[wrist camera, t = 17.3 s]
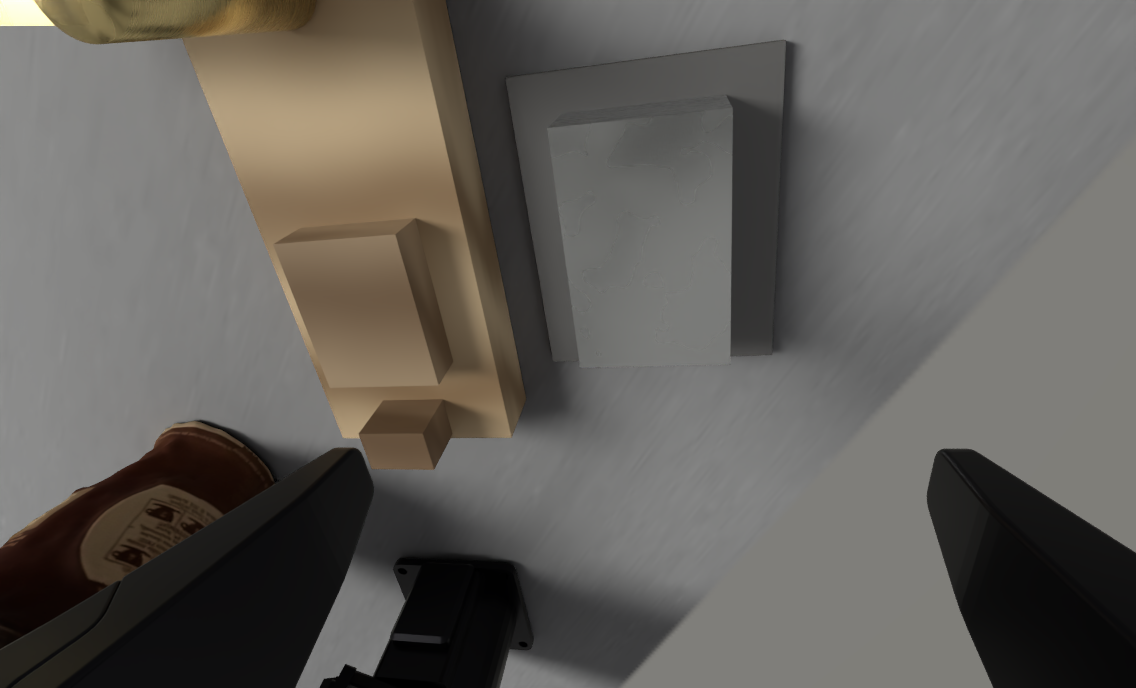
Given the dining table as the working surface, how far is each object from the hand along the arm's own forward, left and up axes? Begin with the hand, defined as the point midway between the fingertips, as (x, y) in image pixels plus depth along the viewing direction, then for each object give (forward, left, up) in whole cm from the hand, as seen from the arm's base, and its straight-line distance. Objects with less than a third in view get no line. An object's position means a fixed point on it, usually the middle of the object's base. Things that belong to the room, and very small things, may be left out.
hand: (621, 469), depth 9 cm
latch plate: (+1, +9, -12) cm, 15 cm away
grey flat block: (0, 0, -12) cm, 12 cm away
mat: (0, 0, -12) cm, 12 cm away
